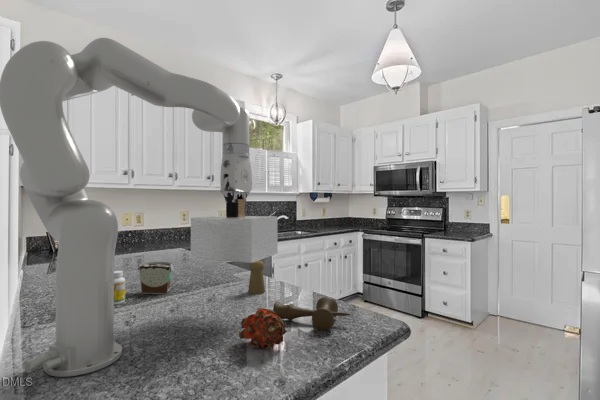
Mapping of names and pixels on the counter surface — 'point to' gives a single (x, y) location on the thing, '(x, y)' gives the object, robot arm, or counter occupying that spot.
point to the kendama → (312, 312)
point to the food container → (155, 277)
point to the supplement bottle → (119, 287)
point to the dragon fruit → (263, 328)
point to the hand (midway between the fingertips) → (235, 216)
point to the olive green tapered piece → (256, 278)
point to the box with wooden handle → (234, 237)
